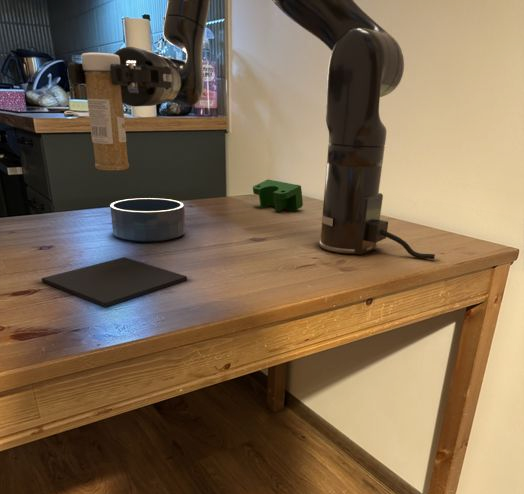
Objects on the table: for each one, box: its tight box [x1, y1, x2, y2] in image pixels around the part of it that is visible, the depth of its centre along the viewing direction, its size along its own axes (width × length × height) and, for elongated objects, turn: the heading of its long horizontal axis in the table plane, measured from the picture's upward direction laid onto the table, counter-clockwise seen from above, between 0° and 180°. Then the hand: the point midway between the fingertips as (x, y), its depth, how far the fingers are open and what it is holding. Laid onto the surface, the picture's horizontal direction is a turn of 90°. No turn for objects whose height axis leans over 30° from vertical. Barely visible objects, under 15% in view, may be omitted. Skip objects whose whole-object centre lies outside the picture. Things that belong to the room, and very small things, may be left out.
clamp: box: [252, 179, 304, 213], centre depth 119 cm, size 12×6×9 cm, turn 37°
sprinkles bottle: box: [80, 52, 130, 172], centre depth 64 cm, size 5×5×13 cm
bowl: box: [109, 197, 186, 243], centre depth 93 cm, size 13×13×6 cm
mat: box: [41, 256, 188, 308], centre depth 70 cm, size 14×14×1 cm
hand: (93, 73), depth 60 cm, fingers closed on sprinkles bottle, 4 cm apart
